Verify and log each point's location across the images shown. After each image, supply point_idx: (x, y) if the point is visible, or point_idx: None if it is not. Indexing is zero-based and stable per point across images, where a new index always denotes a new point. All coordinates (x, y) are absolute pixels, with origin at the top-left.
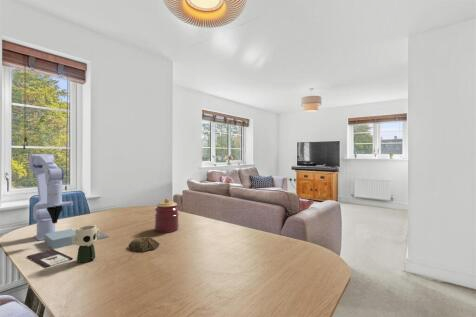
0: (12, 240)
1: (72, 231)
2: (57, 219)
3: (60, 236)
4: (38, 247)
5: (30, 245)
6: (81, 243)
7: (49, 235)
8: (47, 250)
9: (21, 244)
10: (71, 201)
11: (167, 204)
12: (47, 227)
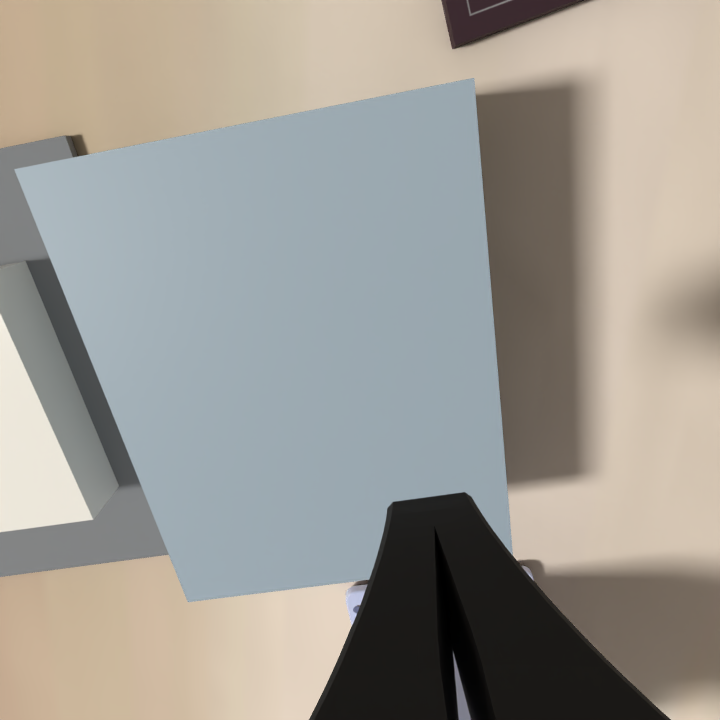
0: (705, 707)
1: (162, 453)
2: (379, 558)
3: (336, 263)
4: (572, 318)
5: (622, 455)
6: None
7: (471, 436)
8: (523, 15)
9: (680, 544)
10: None
11: None
12: (469, 714)
